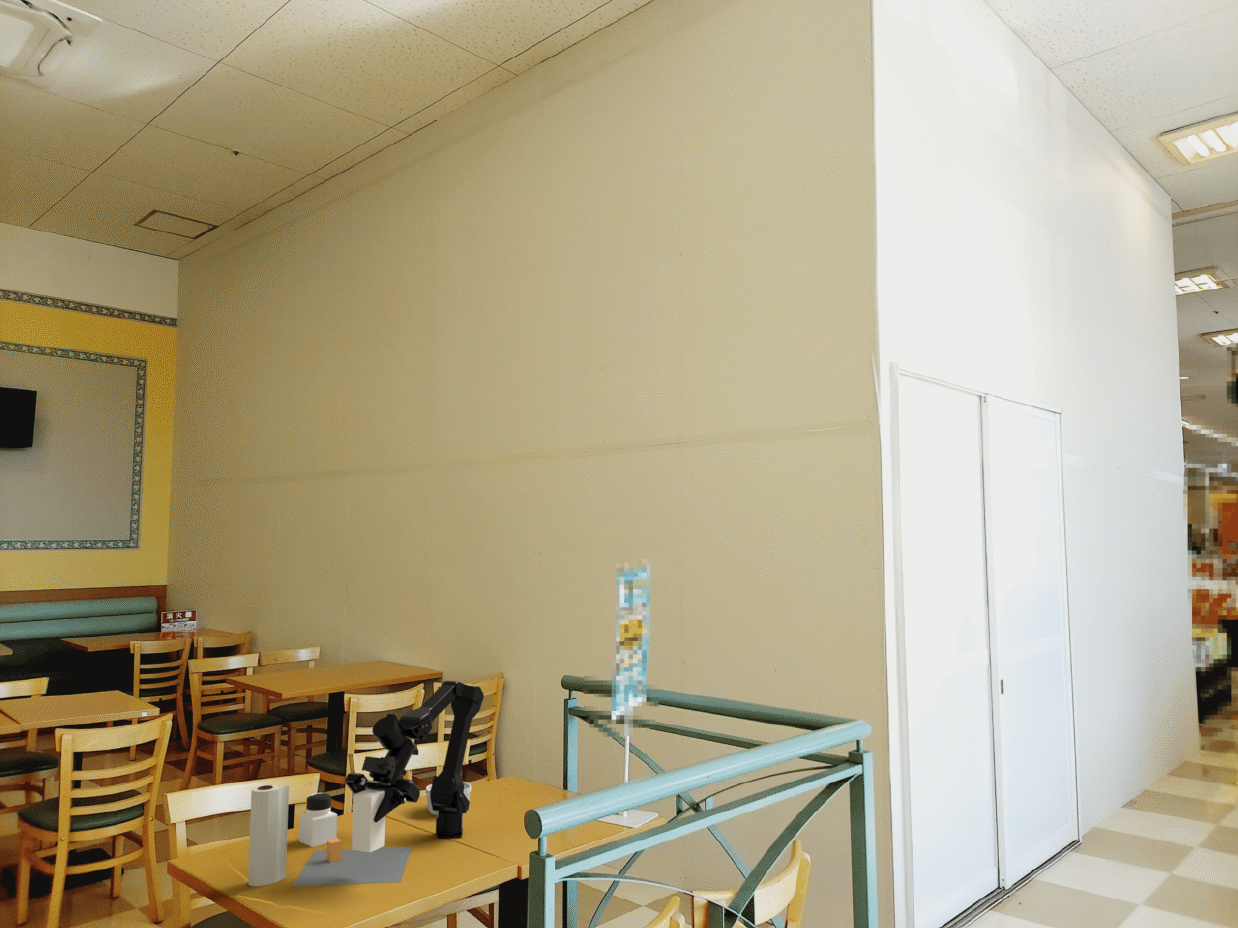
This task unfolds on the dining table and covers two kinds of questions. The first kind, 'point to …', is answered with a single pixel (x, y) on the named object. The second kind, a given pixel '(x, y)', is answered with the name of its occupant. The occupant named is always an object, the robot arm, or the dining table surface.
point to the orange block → (333, 850)
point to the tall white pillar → (367, 821)
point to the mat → (355, 867)
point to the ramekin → (466, 791)
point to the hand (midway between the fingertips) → (365, 819)
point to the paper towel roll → (268, 834)
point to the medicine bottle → (317, 821)
